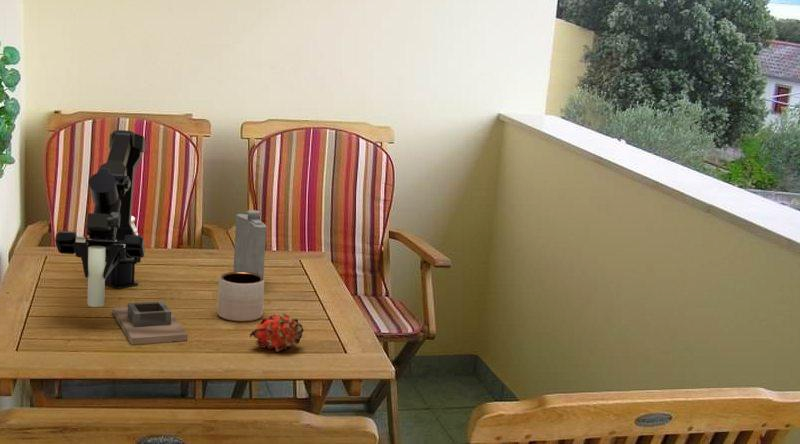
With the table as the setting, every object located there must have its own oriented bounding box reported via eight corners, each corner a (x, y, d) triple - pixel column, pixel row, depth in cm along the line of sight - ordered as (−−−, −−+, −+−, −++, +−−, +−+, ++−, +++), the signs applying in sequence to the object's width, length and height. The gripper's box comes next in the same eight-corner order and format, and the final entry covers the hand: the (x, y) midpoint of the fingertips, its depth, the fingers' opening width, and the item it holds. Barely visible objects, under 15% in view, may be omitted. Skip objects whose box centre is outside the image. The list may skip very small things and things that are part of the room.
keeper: (112, 313, 222) (112, 294, 221) (163, 310, 227) (164, 292, 226) (131, 345, 203) (132, 325, 202) (187, 340, 208) (188, 321, 207)
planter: (270, 313, 232) (272, 276, 230) (249, 325, 221) (251, 286, 219) (231, 306, 235) (233, 268, 233) (208, 317, 225) (210, 278, 223)
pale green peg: (98, 300, 213) (99, 244, 210) (107, 304, 211) (108, 248, 208) (84, 303, 210) (85, 247, 207) (93, 307, 208) (94, 250, 205)
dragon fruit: (306, 355, 210) (253, 365, 206) (298, 324, 215) (246, 332, 212) (309, 334, 203) (253, 343, 200) (300, 302, 209) (246, 311, 205)
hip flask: (231, 276, 261) (235, 205, 256) (245, 275, 263) (249, 204, 259) (253, 292, 247) (257, 217, 243) (267, 291, 249) (272, 217, 245)
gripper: (57, 195, 208) (44, 256, 200) (144, 200, 210) (135, 261, 202) (65, 222, 217) (53, 282, 209) (148, 227, 220) (140, 286, 211)
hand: (95, 277), depth 208 cm, fingers closed on pale green peg, 4 cm apart
